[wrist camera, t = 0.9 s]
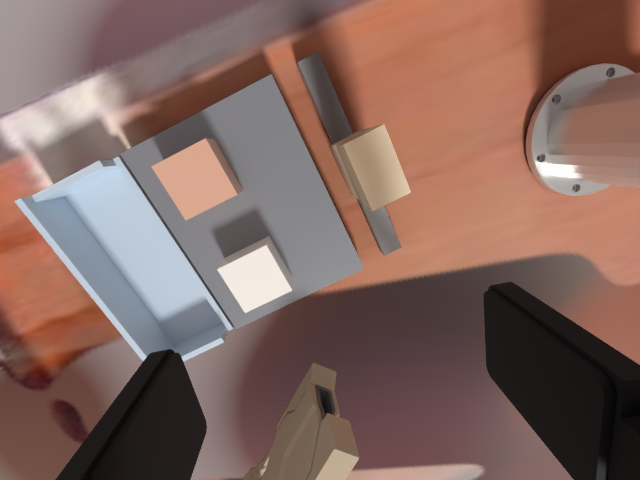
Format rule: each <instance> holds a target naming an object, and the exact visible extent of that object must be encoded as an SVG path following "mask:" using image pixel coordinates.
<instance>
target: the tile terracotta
mask: <svg viewBox="0 0 640 480" xmlns="http://www.w3.org/2000/svg"><path fill="white" fill-rule="evenodd" d="M151 167H152V169H153V170H154V172H155V173H156V175H157V177H158V178H159V180H160V181H161V183H162V184H163V186H164V187H165V189H166V191H167V192H168V194H169V195H170V197H171V198H172V200H173V202H174V203H175V205H176V206H177V208H178V209H179V211H180V212H181V214H182V216H183V217H184V219H185V220H188V219H190V218H192V217H194V216H196V215H198V214H200V213H202V212H204V211H206V210H208V209H210V208H212V207H214V206H216V205H218V204H220V203H222V202H224V201H226V200H228V199H230V198H232V197H234V196H236V195H238V194H239V193H240V192H241V191H243V188H242V187H241V185H240V183H239V181H238V179H237V178H236V176H235V174H234V172H233V171H232V169H231V167H230V165H229V163H228V162H227V160H226V158H225V156H224V155H223V153H222V151H221V149H220V147H219V146H218V144H217V142H216V140H215V139H208V138H205V139H203V140H201V141H199V142H197V143H195V144H193V145H191V146H190V147H188V148H186V149H184V150H182V151H180V152H178V153H176V154H174V155H172V156H170V157H169V158H167V159H165V160H163V161H161V162H159V163H157V164H155V165H153V166H151Z"/></svg>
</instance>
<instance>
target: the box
mask: <svg viewBox="0 0 640 480" xmlns="http://www.w3.org/2000/svg"><path fill="white" fill-rule="evenodd" d="M15 203H16V204H17V205H18V206H19V208H20V209H21V210H22V211H23V213H24V214H25V215H26V216H27V218H28V219H29V220H30V221H31V223H32V224H33V225H34V226H35V228H36V229H37V230H38V231H39V233H40V234H41V235H42V236H43V238H44V239H45V240H46V241H47V243H48V244H49V245H50V246H51V248H52V249H53V250H54V251H55V253H56V254H57V255H58V256H59V257H60V259H61V260H62V261H63V262H64V264H65V265H66V266H67V267H68V269H69V270H70V271H71V272H72V274H73V275H74V276H75V277H76V279H77V280H78V281H79V282H80V284H81V285H82V286H83V287H84V289H85V290H86V291H87V292H88V294H89V295H90V296H91V297H92V299H93V300H94V301H95V302H96V304H97V305H98V306H99V307H100V308H101V310H102V311H103V312H104V313H105V315H106V316H107V317H108V318H109V320H110V321H111V322H112V323H113V325H114V326H115V327H116V328H117V330H118V331H119V332H120V333H121V335H122V336H123V337H124V338H125V339H126V341H127V342H128V343H129V345H130V346H131V347H132V348H133V350H134V351H135V352H136V353H137V354H138V356H139V357H140V358H141V359H142V361H144V360H145V359H146V357H147V356H148V355H149V354H150V353H152V352H157V351H162V350H167V349H172V350H173V351H174V352H175V353H179V354H180V355H181V357H182V360H183V362H184V361H185V360H188V359H189V358H192V357H194V356H196V355H198V354H200V353H202V352H204V351H207V350H209V349H211V348H213V347H215V346H217V345H219V344H221V343H223V342H224V341H225V339H226V336H227V333H228V331H230V330H232V329H233V327H234V325H233V323H232V322H231V320H230V319H229V317H228V316H227V314H226V313H225V311H224V310H223V308H222V307H221V305H220V304H219V302H218V301H217V299H216V298H215V296H214V295H213V293H212V292H211V290H210V289H209V287H208V286H207V284H206V283H205V281H204V280H203V278H202V277H201V275H200V274H199V272H198V271H197V269H196V268H195V266H194V265H193V263H192V262H191V260H190V259H189V257H188V256H187V254H186V253H185V251H184V250H183V248H182V247H181V245H180V244H179V242H178V241H177V239H176V237H175V236H174V234H173V233H172V231H171V230H170V228H169V227H168V225H167V224H166V222H165V221H164V219H163V218H162V216H161V215H160V213H159V212H158V210H157V209H156V207H155V206H154V204H153V203H152V201H151V200H150V198H149V197H148V195H147V194H146V192H145V191H144V189H143V188H142V186H141V185H140V183H139V182H138V180H137V179H136V177H135V176H134V174H133V173H132V171H131V170H130V168H129V167H128V165H127V164H126V162H125V161H124V159H123V158H122V156H118V157H116V158H114V159H110V160H98V161H97V162H95V163H93V164H91V165H89V166H87V167H85V168H83V169H81V170H80V171H78V172H76V173H74V174H72V175H70V176H68V177H66V178H64V179H63V180H61V181H59V182H57V183H55V184H53V185H51V186H49V187H48V188H46V189H44V190H42V191H40V192H38V193H36V194H34V195H32V196H30V197H25V198H20V199H18V200H16V201H15Z"/></svg>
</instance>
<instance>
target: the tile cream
mask: <svg viewBox="0 0 640 480" xmlns="http://www.w3.org/2000/svg"><path fill="white" fill-rule="evenodd" d="M217 270H218V272H219V273H220V275H221V276H222V278H223V280H224V281H225V283H226V284H227V286H228V287H229V289H230V291H231V292H232V294H233V295H234V297H235V298H236V300H237V301H238V303H239V305H240V306H241V308H242V309H243V311H244V312H245V313H247V312H249V311H251V310H253V309H255V308H257V307H259V306H261V305H263V304H265V303H268V302H270V301H272V300H274V299H276V298H278V297H280V296H282V295H284V294H286V293H288V292H290V291H292V287H293V277H292V276H291V274H290V272H289V270H288V268H287V267H286V265H285V263H284V261H283V260H282V258H281V256H280V254H279V252H278V251H277V249H276V247H275V245H274V244H273V242H272V240H271V238H270V236H268V237H266V238H264V239H262V240H260V241H258V242H256V243H254V244H252V245H250V246H248V247H246V248H244V249H242V250H240V251H238V252H236V253H234V254H232V255H230V256H228V257H226V258H224V259H223V261H222V262H221V264H220V265H219V267H218V269H217Z"/></svg>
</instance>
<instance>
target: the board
mask: <svg viewBox="0 0 640 480" xmlns="http://www.w3.org/2000/svg"><path fill="white" fill-rule="evenodd" d="M205 138H208V139H215V140H216V142H217V144H218V146H219V147H220V149H221V151H222V153H223V155H224V156H225V158H226V160H227V162H228V163H229V165H230V167H231V169H232V171H233V172H234V174H235V176H236V178H237V179H238V181H239V183H240V185H241V187H242V188H243V191H241V192H240V193H239V194H238V195H236V196H234V197H232V198H230V199H228V200H226V201H224V202H222V203H220V204H218V205H216V206H214V207H212V208H210V209H208V210H206V211H204V212H202V213H200V214H198V215H196V216H194V217H192V218H190V219H188V220H185V219H184V217H183V216H182V214H181V212H180V211H179V209H178V208H177V206H176V205H175V203H174V202H173V200H172V198H171V197H170V195H169V194H168V192H167V191H166V189H165V187H164V186H163V184H162V183H161V181H160V180H159V178H158V177H157V175H156V173H155V172H154V170H153V169H152V167H151V166H153V165H155V164H157V163H159V162H161V161H163V160H165V159H167V158H169V157H170V156H172V155H174V154H176V153H178V152H180V151H182V150H184V149H186V148H188V147H190V146H191V145H193V144H195V143H197V142H199V141H201V140H203V139H205ZM120 155H121V156H122V158H123V159H124V161H125V162H126V164H127V165H128V167H129V168H130V170H131V171H132V173H133V174H134V176H135V177H136V179H137V180H138V182H139V183H140V185H141V186H142V188H143V189H144V191H145V192H146V194H147V195H148V197H149V198H150V200H151V201H152V203H153V204H154V206H155V207H156V209H157V210H158V212H159V213H160V215H161V216H162V218H163V219H164V221H165V222H166V224H167V225H168V227H169V228H170V230H171V231H172V233H173V234H174V236H175V237H176V239H177V241H178V242H179V244H180V245H181V247H182V248H183V250H184V251H185V253H186V254H187V256H188V257H189V259H190V260H191V262H192V263H193V265H194V266H195V268H196V269H197V271H198V272H199V274H200V275H201V277H202V278H203V280H204V281H205V283H206V284H207V286H208V287H209V289H210V290H211V292H212V293H213V295H214V296H215V298H216V299H217V301H218V302H219V304H220V305H221V307H222V308H223V310H224V311H225V313H226V314H227V316H228V317H229V319H230V320H231V322H232V323H233V325H234V327H235V328H236V329H238V328H240V327H243V326H244V325H247V324H249V323H251V322H253V321H255V320H257V319H259V318H261V317H264V316H266V315H268V314H270V313H272V312H274V311H276V310H278V309H280V308H282V307H284V306H287V305H289V304H291V303H293V302H295V301H297V300H299V299H301V298H303V297H305V296H308V295H310V294H312V293H314V292H316V291H318V290H320V289H322V288H324V287H326V286H329V285H331V284H333V283H335V282H337V281H339V280H341V279H343V278H345V277H347V276H350V275H352V274H354V273H356V272H358V271H360V270H362V269H364V267H363V265H362V263H361V261H360V258H359V256H358V254H357V252H356V250H355V248H354V246H353V244H352V242H351V240H350V237H349V235H348V233H347V231H346V229H345V227H344V225H343V223H342V221H341V219H340V217H339V214H338V212H337V210H336V208H335V206H334V204H333V202H332V200H331V198H330V196H329V193H328V191H327V189H326V187H325V185H324V183H323V181H322V179H321V177H320V175H319V172H318V170H317V168H316V166H315V164H314V162H313V160H312V158H311V156H310V154H309V152H308V149H307V147H306V145H305V143H304V141H303V139H302V137H301V135H300V133H299V131H298V128H297V126H296V124H295V122H294V120H293V118H292V116H291V114H290V112H289V110H288V108H287V105H286V103H285V101H284V99H283V97H282V95H281V93H280V91H279V89H278V87H277V84H276V82H275V80H274V78H273V76H272V74H270V75H268V76H266V77H265V78H263V79H261V80H259V81H257V82H255V83H253V84H251V85H249V86H248V87H246V88H244V89H242V90H240V91H238V92H236V93H234V94H232V95H230V96H229V97H227V98H225V99H223V100H221V101H219V102H217V103H215V104H213V105H212V106H210V107H208V108H206V109H204V110H202V111H200V112H198V113H196V114H195V115H193V116H191V117H189V118H187V119H185V120H183V121H181V122H179V123H178V124H176V125H174V126H172V127H170V128H168V129H166V130H164V131H162V132H161V133H159V134H157V135H155V136H153V137H151V138H149V139H147V140H145V141H144V142H142V143H140V144H138V145H136V146H134V147H132V148H130V149H128V150H126V151H125V152H123V153H121V154H120ZM268 236H270V238H271V240H272V242H273V244H274V245H275V247H276V249H277V251H278V252H279V254H280V256H281V258H282V260H283V261H284V263H285V265H286V267H287V268H288V270H289V272H290V274H291V276H292V277H293V287H292V291H290V292H288V293H286V294H284V295H282V296H280V297H278V298H276V299H274V300H272V301H270V302H268V303H265V304H263V305H261V306H259V307H257V308H255V309H253V310H251V311H249V312H247V313H245V312H244V311H243V309H242V308H241V306H240V305H239V303H238V301H237V300H236V298H235V297H234V295H233V294H232V292H231V291H230V289H229V287H228V286H227V284H226V283H225V281H224V280H223V278H222V276H221V275H220V273H219V272H218V270H217V269H218V267H219V265H220V264H221V262H222V261H223V259H224V258H226V257H228V256H230V255H232V254H234V253H236V252H238V251H240V250H242V249H244V248H246V247H248V246H250V245H252V244H254V243H256V242H258V241H260V240H262V239H264V238H266V237H268Z"/></svg>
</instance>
